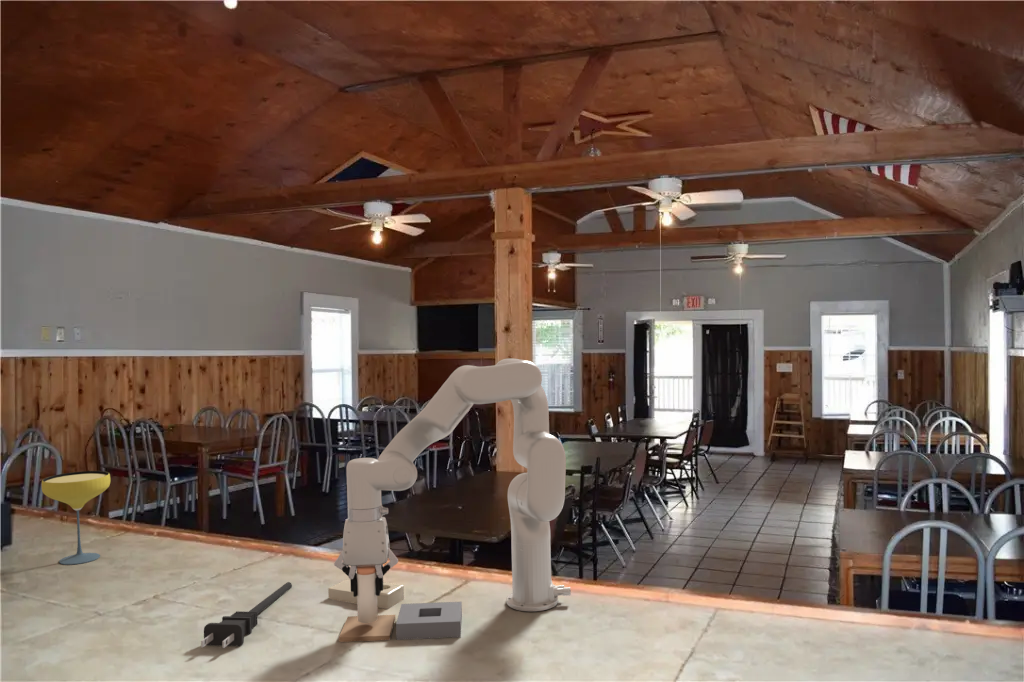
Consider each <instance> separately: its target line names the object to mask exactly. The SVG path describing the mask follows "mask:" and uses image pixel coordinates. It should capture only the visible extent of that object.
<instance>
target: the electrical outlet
mask: <svg viewBox="0 0 1024 682" xmlns="http://www.w3.org/2000/svg"><path fill="white" fill-rule="evenodd" d="M327 590H328V600H331V601H332V600H333V601H338V602H344V603H348V604H349V603H352V604H357V596H356V597H354V596H353V592H351V583H350V579H344V580H341V581H340V582H338V583H336V584H334V585H331V586H330V587H328V588H327ZM404 600H405V589H404V585H403V584H398V583H393V582H392V583H391V582H384V581H383V591H381V592H380V595H379V596H377V608H378V609H379V608H380V609H387V610H389V609H391V608H393V607H394V606H396V605H397V604H399V603H401V602H402V601H404ZM357 605H358V604H357Z"/></svg>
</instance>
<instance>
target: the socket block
mask: <svg viewBox="0 0 1024 682" xmlns="http://www.w3.org/2000/svg"><path fill="white" fill-rule="evenodd" d="M462 603H463V602H462V601H446V602H445V601H443V602H442V601H441V602H417V603H416V602H415V603H401V605H400V608H399V612H398V616H397V619H396V623H395V627H396V630H395V631H396V633H395V635H396V640H397V641H399V640H401V641H402V640H420V639H421V640H424V639H425V640H426V639H444V638H443V637H452V638H461V637H462V624H463V621H462V619H463V609H462V607H463V604H462ZM439 637H440V638H439Z"/></svg>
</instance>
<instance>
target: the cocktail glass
mask: <svg viewBox="0 0 1024 682" xmlns="http://www.w3.org/2000/svg"><path fill="white" fill-rule="evenodd" d="M110 484H111V474H110V472H108V471H106V470H105V471H103V470H87V471H86V470H83V471H74V472H66V473H59V474H55V475H51V476H48V477H45V478H43V479H42V480H41V492H42V493H43V495H45V496H46V497H48V499H52V500H54V501H58V502H61V503H64V504H66V505H68V506H70V507H71V509H73V510H74V511H76V528H77V548H76V553H75V554H72V555H71V554H70V555H68V556H65V557H62V558H60V560H59V561H58V563H59V564H60V565H64V566H70V565H71V566H72V565H83V564H87V563H90V562H94V561H97V560H98V559H100V557H101V555H100V553H96V552H83V550H82V544H81V528H80V527H81V526H80V511H81V510H82V509H83V507H84V506H85V505H86V504H87V503H88V502H90V501H91V500H92V499H94V498H96V497H97V496H99V495H101V494H103V493H104V492H105V491H106V490H107V489H108V488H109V487H110Z"/></svg>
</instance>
